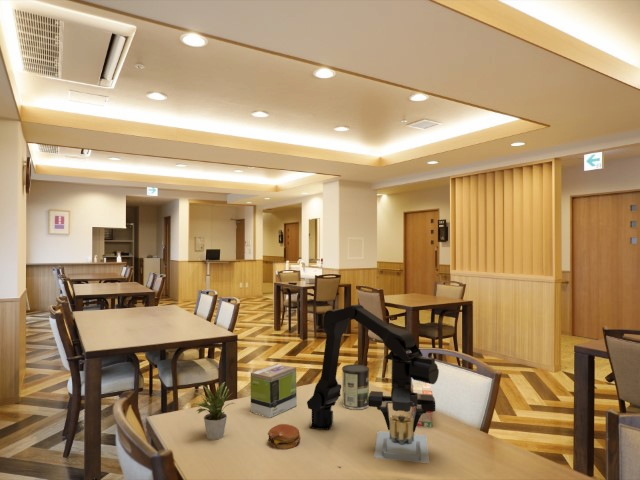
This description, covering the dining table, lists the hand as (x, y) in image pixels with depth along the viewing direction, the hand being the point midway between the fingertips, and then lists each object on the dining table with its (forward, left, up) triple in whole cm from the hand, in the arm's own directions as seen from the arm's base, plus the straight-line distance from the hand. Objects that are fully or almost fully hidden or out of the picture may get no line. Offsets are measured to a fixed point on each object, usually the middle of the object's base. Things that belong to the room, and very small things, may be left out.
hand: (401, 430), depth 126 cm
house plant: (-58, +2, -7) cm, 59 cm away
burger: (-35, +1, -7) cm, 36 cm away
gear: (0, +8, -6) cm, 10 cm away
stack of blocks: (+7, +30, -7) cm, 31 cm away
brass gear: (0, 0, -1) cm, 1 cm away
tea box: (-46, +27, -7) cm, 54 cm away
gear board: (0, +3, -7) cm, 8 cm away
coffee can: (-17, +38, -7) cm, 42 cm away
